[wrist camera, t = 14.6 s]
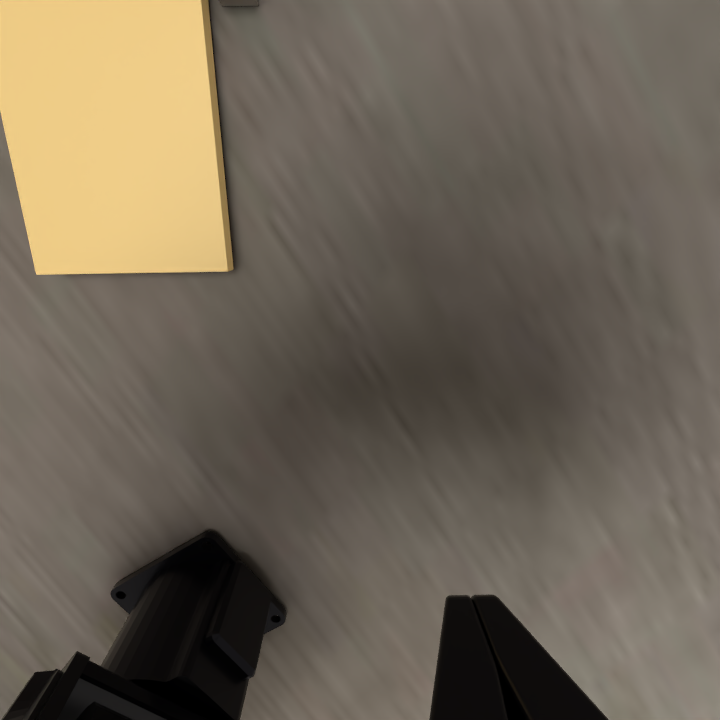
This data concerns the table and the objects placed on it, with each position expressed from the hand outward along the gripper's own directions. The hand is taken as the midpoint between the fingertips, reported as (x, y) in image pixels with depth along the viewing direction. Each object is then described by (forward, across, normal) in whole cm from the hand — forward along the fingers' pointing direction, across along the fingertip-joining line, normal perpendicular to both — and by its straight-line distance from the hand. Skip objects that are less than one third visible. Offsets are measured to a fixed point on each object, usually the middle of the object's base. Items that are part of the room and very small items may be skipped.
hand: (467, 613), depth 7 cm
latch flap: (+12, +10, -9) cm, 18 cm away
